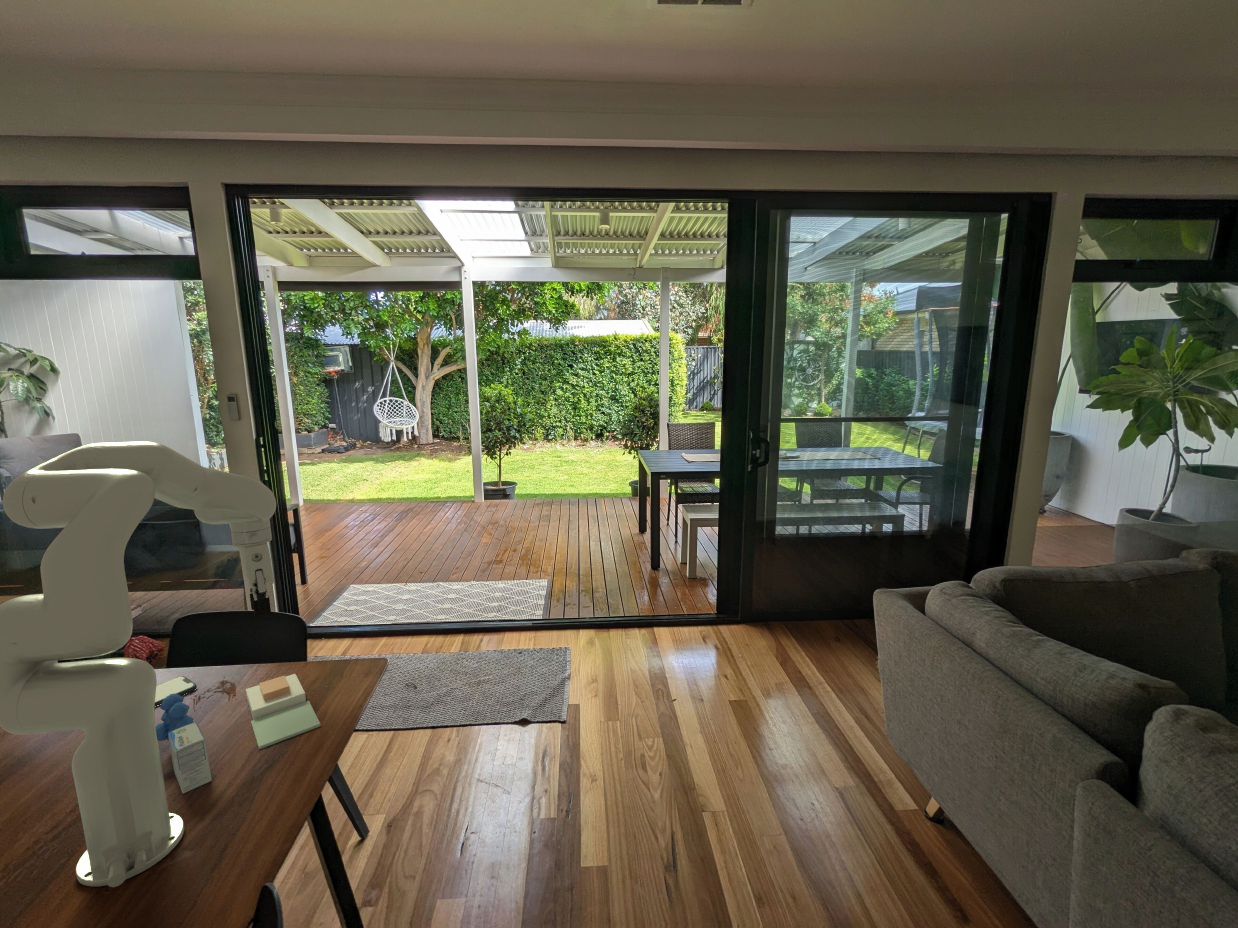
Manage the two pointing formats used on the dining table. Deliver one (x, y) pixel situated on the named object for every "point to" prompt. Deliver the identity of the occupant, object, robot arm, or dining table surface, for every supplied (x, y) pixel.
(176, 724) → the grapes
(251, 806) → the dining table surface
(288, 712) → the mat
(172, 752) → the medicine box
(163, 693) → the smartphone
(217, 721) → the dining table surface
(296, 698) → the plate
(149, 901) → the dining table surface
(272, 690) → the tile
